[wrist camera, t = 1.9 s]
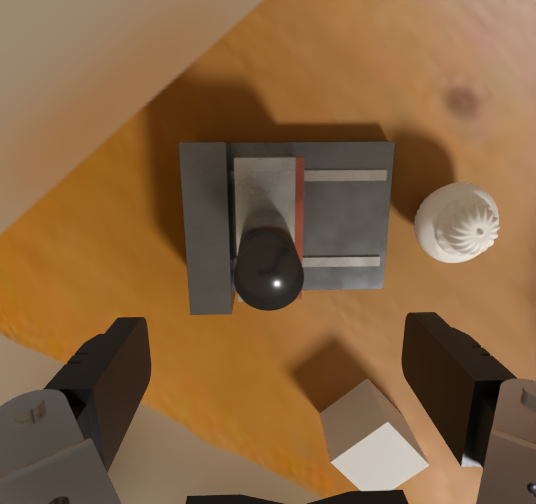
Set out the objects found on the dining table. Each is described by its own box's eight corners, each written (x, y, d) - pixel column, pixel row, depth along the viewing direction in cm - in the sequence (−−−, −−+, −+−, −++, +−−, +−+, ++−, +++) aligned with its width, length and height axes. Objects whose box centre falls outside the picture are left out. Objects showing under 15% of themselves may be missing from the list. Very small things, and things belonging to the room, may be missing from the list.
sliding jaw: (237, 156, 28) (220, 165, 16) (298, 156, 28) (330, 164, 16) (240, 281, 31) (228, 375, 18) (296, 281, 31) (322, 373, 18)
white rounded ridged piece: (464, 250, 33) (518, 277, 26) (395, 250, 32) (431, 277, 26) (476, 178, 31) (537, 187, 24) (403, 177, 31) (444, 186, 24)
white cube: (356, 448, 38) (373, 503, 33) (319, 412, 37) (330, 462, 31) (403, 415, 37) (429, 465, 32) (367, 377, 36) (387, 421, 30)
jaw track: (194, 143, 30) (178, 142, 24) (388, 141, 30) (419, 141, 24) (202, 285, 33) (190, 314, 27) (377, 282, 33) (402, 311, 27)
